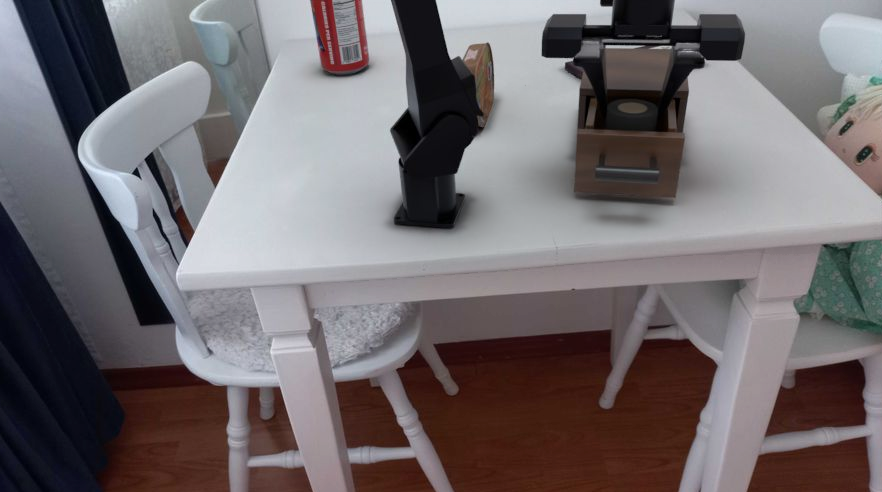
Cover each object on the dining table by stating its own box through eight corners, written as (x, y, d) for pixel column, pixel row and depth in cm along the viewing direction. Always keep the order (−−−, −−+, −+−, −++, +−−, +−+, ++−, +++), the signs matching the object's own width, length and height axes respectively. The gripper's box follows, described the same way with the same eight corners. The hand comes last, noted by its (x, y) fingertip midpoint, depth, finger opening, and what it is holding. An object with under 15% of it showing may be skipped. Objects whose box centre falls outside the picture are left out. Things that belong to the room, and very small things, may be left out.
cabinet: (678, 163, 80) (689, 91, 75) (575, 158, 83) (579, 88, 78) (675, 115, 90) (684, 49, 85) (584, 112, 93) (588, 47, 88)
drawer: (676, 219, 69) (686, 156, 65) (570, 212, 71) (573, 151, 67) (673, 145, 82) (681, 89, 78) (582, 141, 84) (586, 87, 80)
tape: (653, 152, 72) (658, 118, 70) (602, 148, 73) (605, 115, 71) (653, 132, 76) (658, 99, 74) (605, 129, 77) (608, 97, 75)
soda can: (350, 80, 109) (335, -22, 100) (312, 73, 112) (294, -26, 104) (379, 63, 114) (368, -35, 105) (342, 58, 118) (327, -38, 109)
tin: (480, 138, 89) (478, 73, 84) (456, 137, 89) (452, 73, 84) (496, 92, 101) (495, 33, 96) (474, 92, 101) (472, 34, 96)
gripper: (747, -62, 68) (719, 91, 78) (555, -57, 73) (551, 87, 82) (760, -34, 60) (727, 134, 69) (542, -31, 64) (539, 126, 74)
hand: (631, 118), depth 74 cm, fingers closed on tape, 5 cm apart
